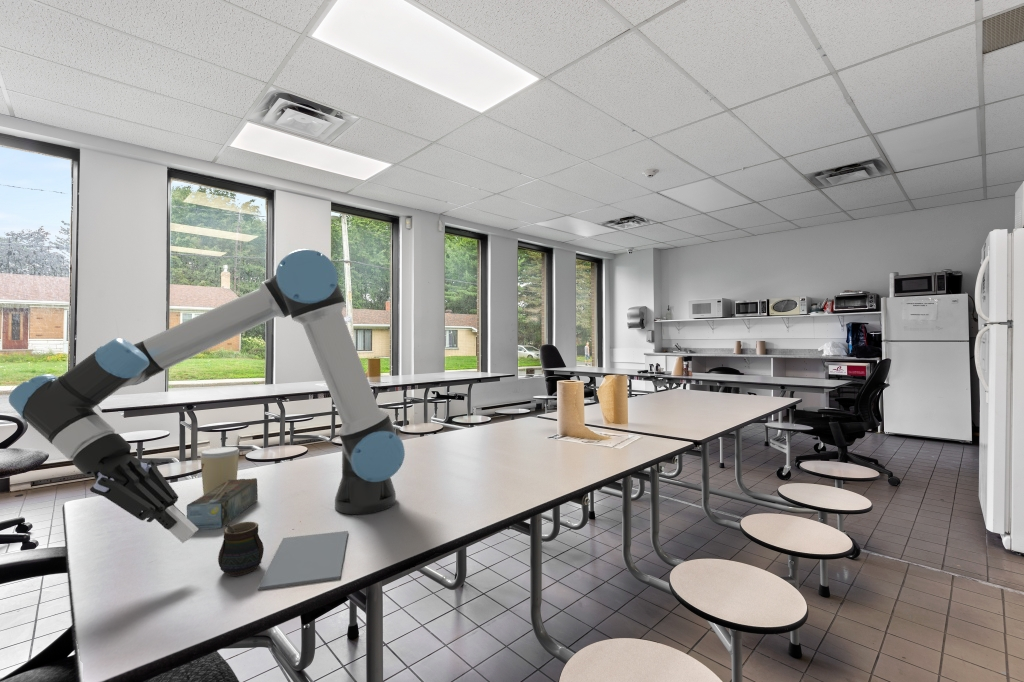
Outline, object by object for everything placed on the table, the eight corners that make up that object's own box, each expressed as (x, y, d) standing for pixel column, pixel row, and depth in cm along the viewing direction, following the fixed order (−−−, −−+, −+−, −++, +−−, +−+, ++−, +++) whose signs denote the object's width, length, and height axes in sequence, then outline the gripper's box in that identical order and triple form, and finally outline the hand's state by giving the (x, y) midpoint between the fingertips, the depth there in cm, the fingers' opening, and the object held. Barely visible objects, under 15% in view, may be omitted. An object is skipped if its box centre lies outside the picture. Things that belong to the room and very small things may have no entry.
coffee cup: (212, 487, 132) (212, 446, 133) (245, 486, 133) (245, 446, 133) (192, 498, 123) (192, 454, 123) (228, 497, 124) (228, 453, 124)
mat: (347, 533, 100) (347, 530, 100) (339, 578, 80) (339, 576, 80) (283, 540, 96) (283, 537, 96) (258, 590, 77) (258, 587, 77)
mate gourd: (270, 559, 88) (270, 508, 88) (253, 580, 80) (253, 523, 80) (230, 562, 87) (230, 509, 87) (209, 582, 79) (209, 525, 79)
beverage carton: (184, 531, 102) (184, 501, 102) (227, 502, 121) (227, 477, 121) (221, 529, 103) (221, 500, 103) (259, 500, 122) (259, 476, 122)
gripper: (108, 453, 88) (197, 536, 89) (44, 471, 75) (149, 568, 76) (137, 425, 89) (225, 508, 90) (78, 439, 76) (182, 535, 77)
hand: (190, 535), depth 83 cm, fingers closed
